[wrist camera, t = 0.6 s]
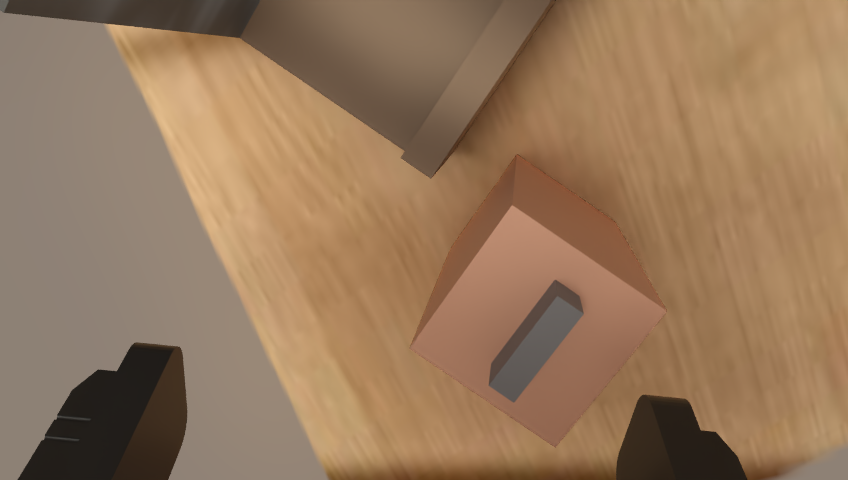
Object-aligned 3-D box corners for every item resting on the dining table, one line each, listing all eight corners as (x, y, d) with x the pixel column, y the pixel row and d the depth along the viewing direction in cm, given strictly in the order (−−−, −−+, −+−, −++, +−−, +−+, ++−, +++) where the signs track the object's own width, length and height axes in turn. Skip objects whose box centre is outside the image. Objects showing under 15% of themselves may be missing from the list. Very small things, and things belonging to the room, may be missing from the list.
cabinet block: (516, 154, 31) (511, 215, 18) (614, 221, 31) (678, 330, 18) (450, 248, 33) (400, 369, 19) (544, 312, 33) (557, 476, 20)
